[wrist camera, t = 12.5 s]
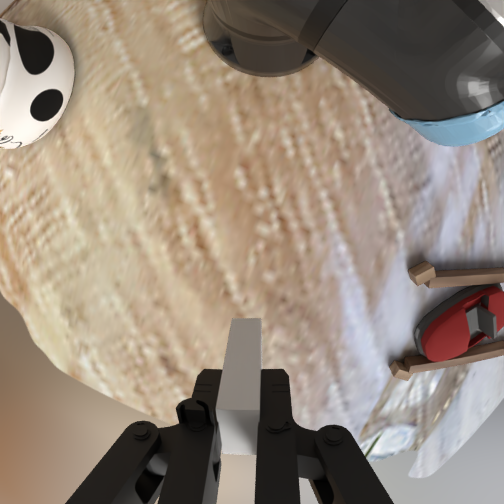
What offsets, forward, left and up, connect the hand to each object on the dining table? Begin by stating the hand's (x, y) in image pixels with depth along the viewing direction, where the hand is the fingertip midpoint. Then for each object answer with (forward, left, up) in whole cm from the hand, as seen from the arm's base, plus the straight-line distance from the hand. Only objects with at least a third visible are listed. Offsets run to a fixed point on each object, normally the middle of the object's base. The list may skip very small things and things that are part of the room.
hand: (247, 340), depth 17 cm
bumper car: (+14, +33, -25) cm, 44 cm away
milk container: (-22, -31, -25) cm, 45 cm away
